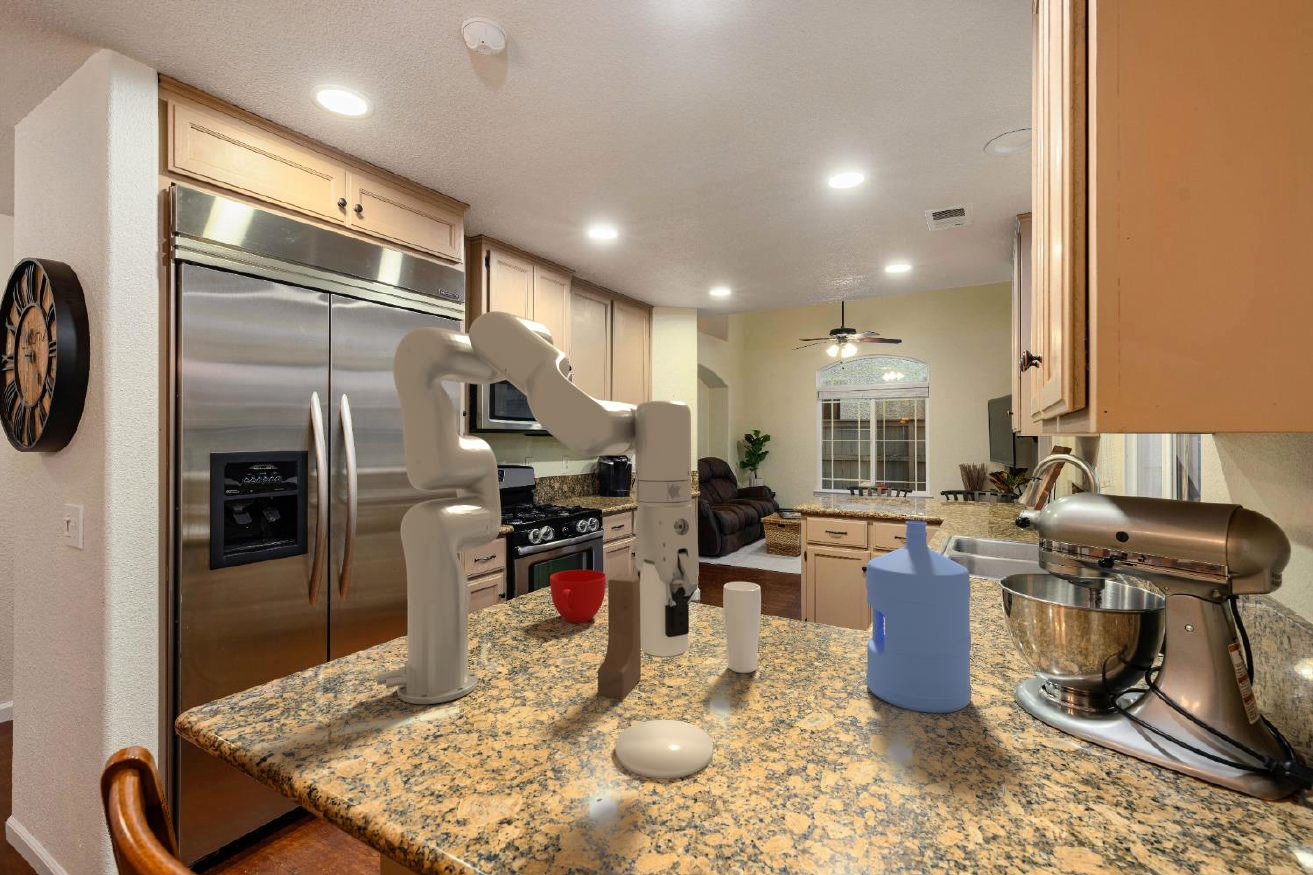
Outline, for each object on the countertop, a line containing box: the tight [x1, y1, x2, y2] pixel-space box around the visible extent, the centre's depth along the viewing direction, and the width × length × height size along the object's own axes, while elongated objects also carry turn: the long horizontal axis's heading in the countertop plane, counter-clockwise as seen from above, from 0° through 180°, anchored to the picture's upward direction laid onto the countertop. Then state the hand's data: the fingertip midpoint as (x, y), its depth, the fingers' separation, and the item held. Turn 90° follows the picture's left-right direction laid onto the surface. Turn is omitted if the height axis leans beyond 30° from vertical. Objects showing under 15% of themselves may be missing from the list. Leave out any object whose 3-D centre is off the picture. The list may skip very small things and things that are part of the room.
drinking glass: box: [722, 581, 762, 674], centre depth 106 cm, size 7×7×15 cm
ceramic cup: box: [549, 569, 607, 624], centre depth 135 cm, size 13×17×10 cm
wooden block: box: [597, 573, 642, 700], centre depth 98 cm, size 9×4×18 cm, turn 162°
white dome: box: [615, 719, 714, 779], centre depth 78 cm, size 13×13×1 cm
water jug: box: [865, 520, 972, 714], centre depth 96 cm, size 16×16×28 cm
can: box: [640, 560, 690, 659], centre depth 78 cm, size 6×6×12 cm
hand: (664, 626), depth 78 cm, fingers closed on can, 6 cm apart
